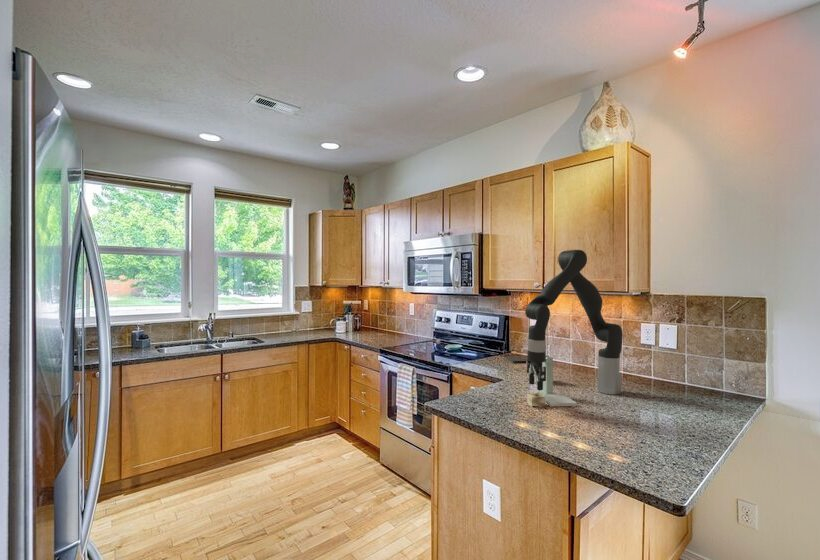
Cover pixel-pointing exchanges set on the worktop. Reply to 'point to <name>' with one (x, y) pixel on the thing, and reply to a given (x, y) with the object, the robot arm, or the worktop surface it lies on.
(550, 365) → the press frame
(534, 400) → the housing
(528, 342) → the robot arm
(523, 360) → the press lever
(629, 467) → the worktop surface
